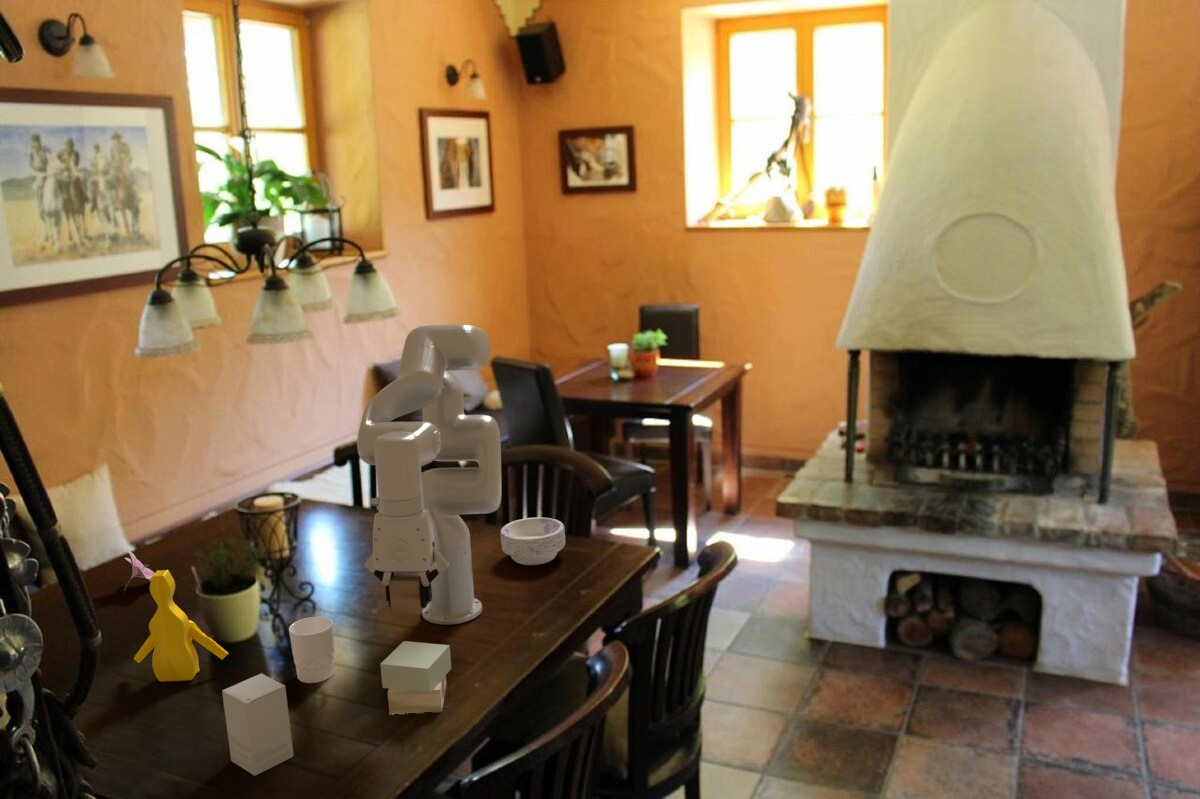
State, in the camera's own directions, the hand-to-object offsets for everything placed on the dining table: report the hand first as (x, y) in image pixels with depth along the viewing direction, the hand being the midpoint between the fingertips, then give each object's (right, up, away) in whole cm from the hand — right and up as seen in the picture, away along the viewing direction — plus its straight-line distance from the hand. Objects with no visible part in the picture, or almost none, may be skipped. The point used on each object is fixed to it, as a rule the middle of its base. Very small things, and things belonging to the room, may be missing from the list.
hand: (409, 603), depth 181 cm
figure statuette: (-46, -17, +16) cm, 52 cm away
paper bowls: (+17, -3, +68) cm, 70 cm away
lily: (-72, -8, +59) cm, 94 cm away
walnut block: (0, -1, 0) cm, 1 cm away
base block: (+1, -18, +4) cm, 19 cm away
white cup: (-20, -16, +15) cm, 30 cm away
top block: (+1, -14, +3) cm, 14 cm away
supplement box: (-21, -23, -13) cm, 34 cm away
